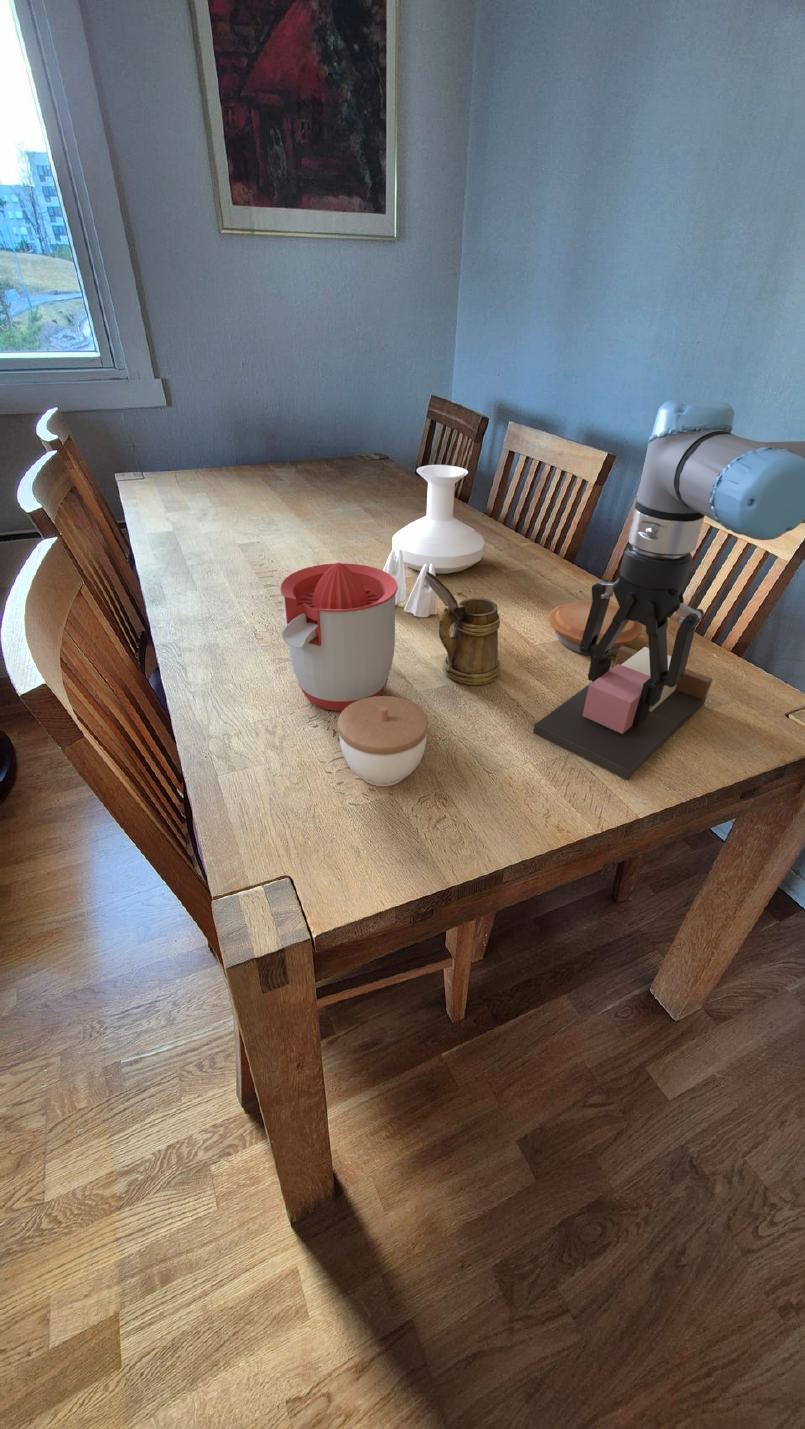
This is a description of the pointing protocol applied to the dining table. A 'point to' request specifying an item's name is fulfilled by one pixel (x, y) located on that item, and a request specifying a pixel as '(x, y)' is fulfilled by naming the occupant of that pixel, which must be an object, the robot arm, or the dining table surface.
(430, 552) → the white vase
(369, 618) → the citrus juicer
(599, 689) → the pink block
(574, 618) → the pie
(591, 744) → the backrest board
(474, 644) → the wooden mug
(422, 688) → the dining table surface
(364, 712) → the trinket box
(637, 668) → the cream block
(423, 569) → the shaker set
